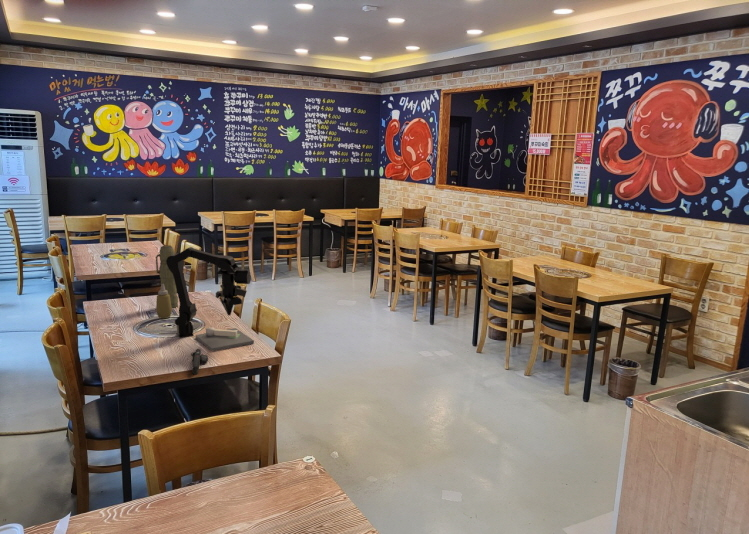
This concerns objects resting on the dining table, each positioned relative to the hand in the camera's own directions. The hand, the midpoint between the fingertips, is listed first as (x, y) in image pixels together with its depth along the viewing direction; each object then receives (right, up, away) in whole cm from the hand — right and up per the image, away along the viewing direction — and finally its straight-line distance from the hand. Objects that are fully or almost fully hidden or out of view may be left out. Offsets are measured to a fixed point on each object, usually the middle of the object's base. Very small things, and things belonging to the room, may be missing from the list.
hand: (229, 315), depth 268 cm
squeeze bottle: (-43, -4, +32) cm, 54 cm away
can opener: (-4, -19, -35) cm, 40 cm away
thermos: (-47, 0, +51) cm, 69 cm away
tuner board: (-1, -12, -3) cm, 12 cm away
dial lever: (-3, -10, -1) cm, 10 cm away
